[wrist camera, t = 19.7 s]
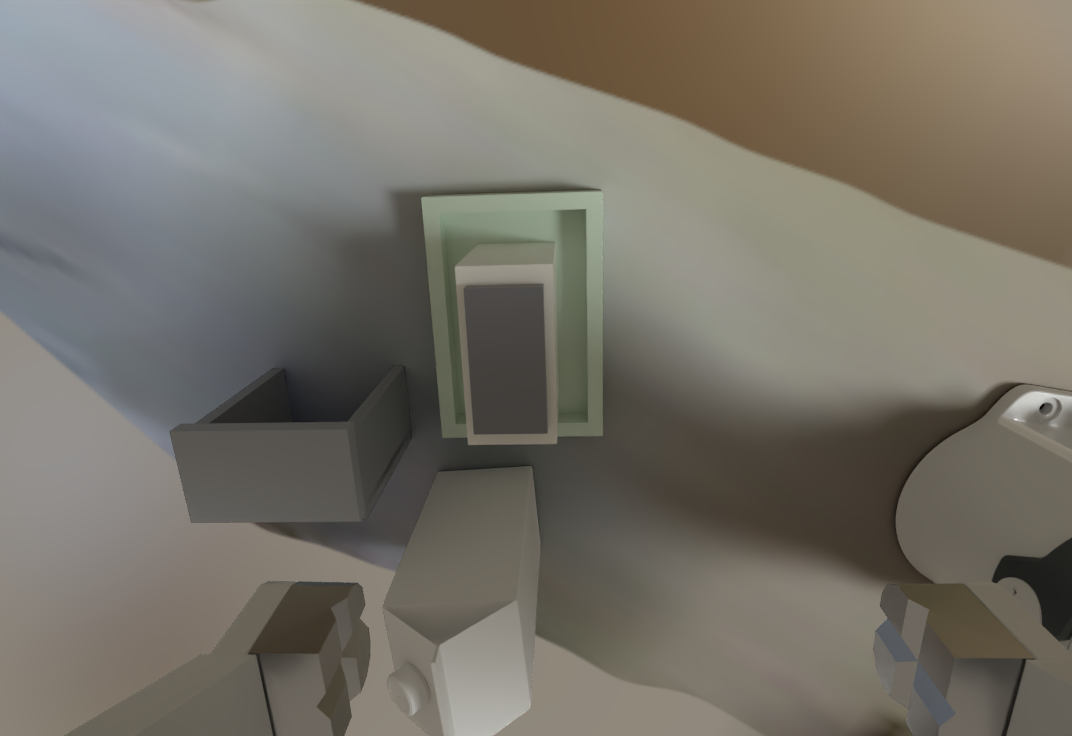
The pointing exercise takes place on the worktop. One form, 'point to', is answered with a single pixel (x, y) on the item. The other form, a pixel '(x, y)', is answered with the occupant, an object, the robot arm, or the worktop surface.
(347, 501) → the open-top grey box
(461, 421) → the tray
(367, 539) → the worktop surface
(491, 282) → the cream box grey panel
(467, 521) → the milk carton
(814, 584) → the worktop surface
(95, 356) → the worktop surface
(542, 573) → the worktop surface
